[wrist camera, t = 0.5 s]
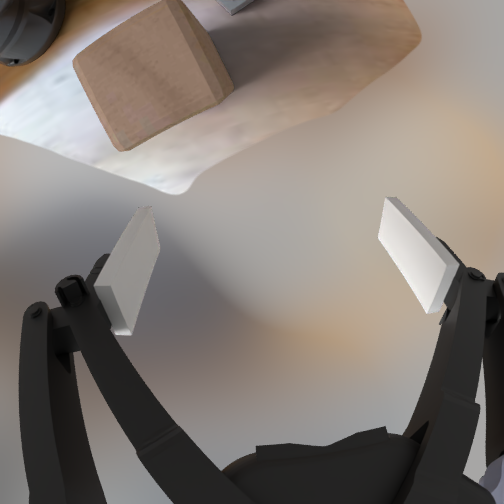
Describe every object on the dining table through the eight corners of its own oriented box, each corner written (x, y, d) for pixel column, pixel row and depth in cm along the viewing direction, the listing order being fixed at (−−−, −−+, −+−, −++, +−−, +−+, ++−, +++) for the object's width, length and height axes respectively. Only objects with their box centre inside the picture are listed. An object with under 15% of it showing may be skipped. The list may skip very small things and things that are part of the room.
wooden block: (206, 30, 31) (175, -11, 14) (236, 91, 36) (230, 99, 19) (141, 63, 33) (64, 60, 16) (171, 121, 38) (115, 159, 21)
